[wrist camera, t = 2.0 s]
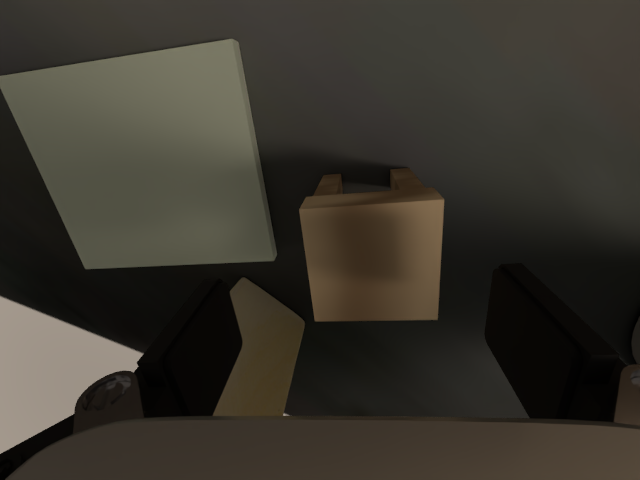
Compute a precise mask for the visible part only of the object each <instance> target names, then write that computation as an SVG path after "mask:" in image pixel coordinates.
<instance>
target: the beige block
mask: <svg viewBox="0 0 640 480" xmlns="http://www.w3.org/2000/svg"><path fill="white" fill-rule="evenodd" d="M230 296H231V299H232V303H233V307H234V310H235V314H236V318H237V321H238V325H239V328H240V332H241V336H242V341H243V343H242V349H241V351H240V353H239V356H238V358H237V360H236V363H235V365H234V367H233V370H232V372H231V374H230V376H229V379H228V381H227V383H226V386H225V388H224V390H223V393H222V395H221V397H220V400H219V402H218V404H217V406H216V409H215V411H214V413H213V416H283V413H284V409H285V405H286V400H287V396H288V392H289V388H290V384H291V380H292V376H293V371H294V367H295V363H296V359H297V355H298V351H299V347H300V343H301V339H302V335H303V331H304V327H305V322H304V320H303V319H302V318H301V317H299V316H298V315H297V314H296V313H294V312H293V311H292V310H290V309H289V308H288V307H286V306H285V305H283V304H282V303H281V302H279V301H278V300H276V299H275V298H274V297H272V296H271V295H269V294H268V293H267V292H265V291H264V290H262V289H261V288H260V287H258V286H257V285H255V284H254V283H252V282H251V281H249V280H248V279H246V278H245V277H243V278H241V279H240V280H239V281H238V282H237V283H236V285H235V286H234V287H233V288H232V289H231V291H230Z"/></svg>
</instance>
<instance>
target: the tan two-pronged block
mask: <svg viewBox="0 0 640 480" xmlns="http://www.w3.org/2000/svg"><path fill="white" fill-rule="evenodd" d="M390 188H391V190H390V191H377V192H364V193H350V194H342V192H343V190H342V177H341V174H331V175H323V177H322V179H321V181H320V183H319V185H318V187H317V189H316V191H315V193H314V195H313V196H311V197H306V198H305V200H304V202H303V203H302V205H301V207H300V209H299V213H300V220H301V227H302V234H303V241H304V248H305V255H306V262H307V270H308V277H309V284H310V291H311V298H312V305H313V312H314V319H315V321H392V320H438V305H439V287H440V269H441V251H442V233H443V214H444V199H443V197H442V196H441V195H440V194H439V193H438V192H437V191H436V190H435V189H434V188H433V187H430V188H425V187H424V186H423V184H422V183H421V182H420V181H419V179H418V178H417V177H416V176H415V174H414V173H413V172H412V171H411V170H410V168H401V169H390Z"/></svg>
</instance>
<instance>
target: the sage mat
mask: <svg viewBox="0 0 640 480" xmlns="http://www.w3.org/2000/svg"><path fill="white" fill-rule="evenodd" d="M0 89H1V91H2V93H3V95H4V97H5V99H6V101H7V104H8V106H9V108H10V110H11V112H12V114H13V116H14V118H15V121H16V123H17V125H18V127H19V129H20V131H21V133H22V135H23V138H24V140H25V142H26V144H27V146H28V148H29V150H30V152H31V155H32V157H33V159H34V161H35V163H36V165H37V167H38V169H39V172H40V174H41V176H42V178H43V180H44V182H45V184H46V187H47V189H48V191H49V193H50V195H51V197H52V199H53V201H54V204H55V206H56V208H57V210H58V212H59V214H60V216H61V218H62V221H63V223H64V225H65V227H66V229H67V231H68V233H69V235H70V238H71V240H72V242H73V244H74V246H75V248H76V250H77V252H78V255H79V257H80V259H81V261H82V263H83V265H84V267H85V269H102V268H125V267H148V266H170V265H193V264H216V263H239V262H261V261H274V260H275V258H276V256H277V251H276V245H275V240H274V234H273V229H272V223H271V218H270V212H269V207H268V201H267V196H266V190H265V185H264V179H263V174H262V168H261V163H260V158H259V152H258V147H257V141H256V136H255V130H254V125H253V119H252V114H251V108H250V103H249V97H248V92H247V86H246V81H245V75H244V70H243V64H242V59H241V53H240V48H239V42H237V41H235V40H233V39H228V40H222V41H215V42H209V43H203V44H197V45H190V46H184V47H178V48H172V49H165V50H159V51H153V52H147V53H141V54H134V55H128V56H122V57H116V58H109V59H103V60H97V61H91V62H84V63H78V64H72V65H66V66H59V67H53V68H47V69H41V70H35V71H28V72H22V73H16V74H10V75H3V76H0Z"/></svg>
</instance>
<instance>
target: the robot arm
mask: <svg viewBox="0 0 640 480" xmlns="http://www.w3.org/2000/svg"><path fill="white" fill-rule="evenodd" d="M485 339H486V342H487V344H488V346H489V348H490V350H491V351H492V353H493V355H494V357H495V358H496V360H497V362H498V364H499V365H500V367H501V369H502V370H503V372H504V374H505V376H506V377H507V379H508V381H509V383H510V384H511V386H512V388H513V390H514V391H515V393H516V395H517V397H518V398H519V400H520V402H521V404H522V405H523V407H524V409H525V411H526V412H527V414H528V416H529V417H530V418H488V417H403V416H213V413H214V411H215V409H216V406H217V404H218V402H219V400H220V397H221V395H222V393H223V390H224V388H225V386H226V383H227V381H228V379H229V376H230V374H231V372H232V370H233V367H234V365H235V363H236V360H237V358H238V356H239V353H240V351H241V349H242V343H243V341H242V336H241V332H240V328H239V325H238V321H237V318H236V314H235V310H234V307H233V303H232V299H231V296H230V292H229V288H228V285H227V283H225V282H224V283H223V281H222V280H221V279H208V280H204V281H203V282H202V283H201V284H200V285H199V287H198V288H197V289H196V290H195V292H194V293H193V294H192V295H191V297H190V298H189V299H188V300H187V301H186V303H185V304H184V305H183V306H182V308H181V309H180V310H179V311H178V313H177V314H176V315H175V316H174V317H173V319H172V320H171V321H170V322H169V324H168V325H167V326H166V327H165V329H164V330H163V331H162V332H161V333H160V335H159V336H158V337H157V338H156V340H155V341H154V342H153V343H152V345H151V346H150V347H149V348H148V349H147V351H146V352H145V353H144V354H143V356H142V357H141V358H140V359H139V361H138V362H137V364H138V366H139V367H138V368H137V369H136V370H135V372H134V373H133V372H131V371H119V372H115V373H112V374H109V375H107V376H105V377H103V378H101V379H100V380H98V381H96V382H95V383H93V384H92V385H91V386H89V387H88V388H87V389H86V390H85V391H84V392H83V393H82V395H81V396H80V397H79V399H78V400H77V403H76V406H75V414H73V415H72V416H70V417H68V418H66V419H64V420H62V421H60V422H59V423H57V424H55V425H53V426H51V427H49V428H48V429H46V430H44V431H42V432H40V433H38V434H37V435H35V436H33V437H31V438H29V439H27V440H25V441H24V442H22V443H20V444H18V445H16V446H14V447H13V448H11V449H9V450H7V451H5V452H3V453H1V454H0V480H640V316H639V319H638V321H637V323H636V325H635V328H634V330H633V335H632V341H631V345H632V353H633V356H634V358H635V361H636V363H637V364H633V365H629V366H627V365H626V364H625V363H624V362H623V361H621V360H620V359H619V358H618V357H619V354H618V353H617V352H616V351H615V350H614V349H613V348H612V347H610V346H609V345H608V344H607V343H606V342H605V341H604V340H603V339H602V338H601V337H600V336H599V335H598V334H597V333H595V332H594V331H593V330H592V329H591V328H590V327H589V326H588V325H587V324H586V323H585V322H584V321H583V320H581V319H580V318H579V317H578V316H577V315H576V314H575V313H574V312H573V311H572V310H571V309H570V308H569V307H568V306H566V305H565V304H564V303H563V302H562V301H561V300H560V299H559V298H558V297H557V296H556V295H555V294H554V293H553V292H551V291H550V290H549V289H548V288H547V287H546V286H545V285H544V284H543V283H542V282H541V281H540V280H539V279H537V278H536V277H535V276H534V275H533V274H532V273H531V272H530V271H529V270H528V269H527V268H526V267H525V266H524V265H522V264H519V263H518V264H501V265H500V266H499V268H498V269H495V270H494V271H493V276H492V284H491V291H490V298H489V305H488V312H487V319H486V326H485Z"/></svg>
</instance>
